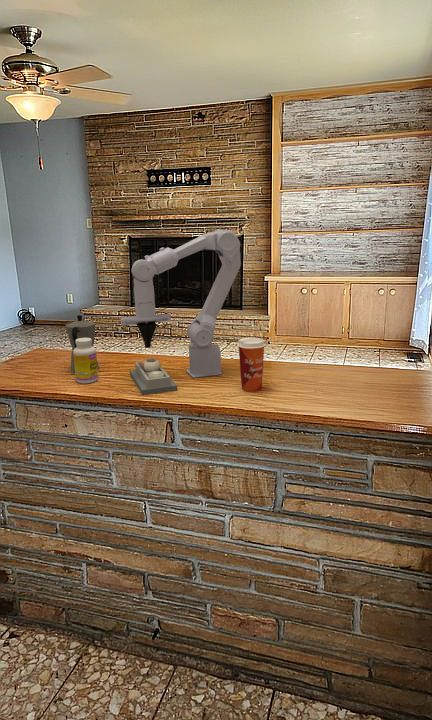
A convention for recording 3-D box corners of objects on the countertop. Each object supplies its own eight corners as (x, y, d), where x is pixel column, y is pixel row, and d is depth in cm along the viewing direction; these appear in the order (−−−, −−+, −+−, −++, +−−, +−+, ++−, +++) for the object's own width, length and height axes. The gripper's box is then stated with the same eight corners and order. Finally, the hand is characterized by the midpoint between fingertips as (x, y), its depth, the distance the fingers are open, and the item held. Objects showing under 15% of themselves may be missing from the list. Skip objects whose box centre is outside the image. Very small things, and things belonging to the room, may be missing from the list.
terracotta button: (153, 368, 160) (153, 358, 159) (156, 372, 156) (156, 362, 155) (139, 370, 159) (138, 360, 158) (142, 374, 155) (141, 364, 154)
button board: (161, 370, 163) (160, 358, 162) (177, 390, 145) (176, 377, 144) (129, 374, 160) (129, 362, 159) (142, 395, 142) (141, 381, 140)
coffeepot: (75, 364, 173) (69, 311, 168) (103, 363, 173) (98, 310, 168) (63, 378, 158) (56, 321, 153) (93, 377, 158) (88, 320, 153)
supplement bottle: (93, 384, 152) (88, 342, 148) (72, 383, 153) (67, 342, 149) (102, 377, 158) (98, 337, 154) (82, 376, 159) (78, 336, 156)
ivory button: (157, 367, 154) (156, 357, 153) (160, 371, 150) (160, 361, 149) (142, 369, 153) (142, 359, 152) (145, 373, 149) (145, 363, 148)
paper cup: (247, 394, 140) (246, 345, 136) (233, 386, 146) (232, 339, 142) (271, 389, 143) (271, 341, 139) (256, 382, 150) (256, 335, 146)
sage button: (162, 380, 149) (161, 369, 148) (165, 384, 145) (165, 373, 144) (147, 381, 148) (146, 371, 147) (150, 386, 144) (149, 375, 143)
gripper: (166, 297, 155) (168, 341, 159) (117, 301, 151) (121, 346, 155) (171, 301, 148) (173, 346, 152) (121, 305, 144) (124, 352, 148)
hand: (147, 347), depth 153 cm, fingers closed
